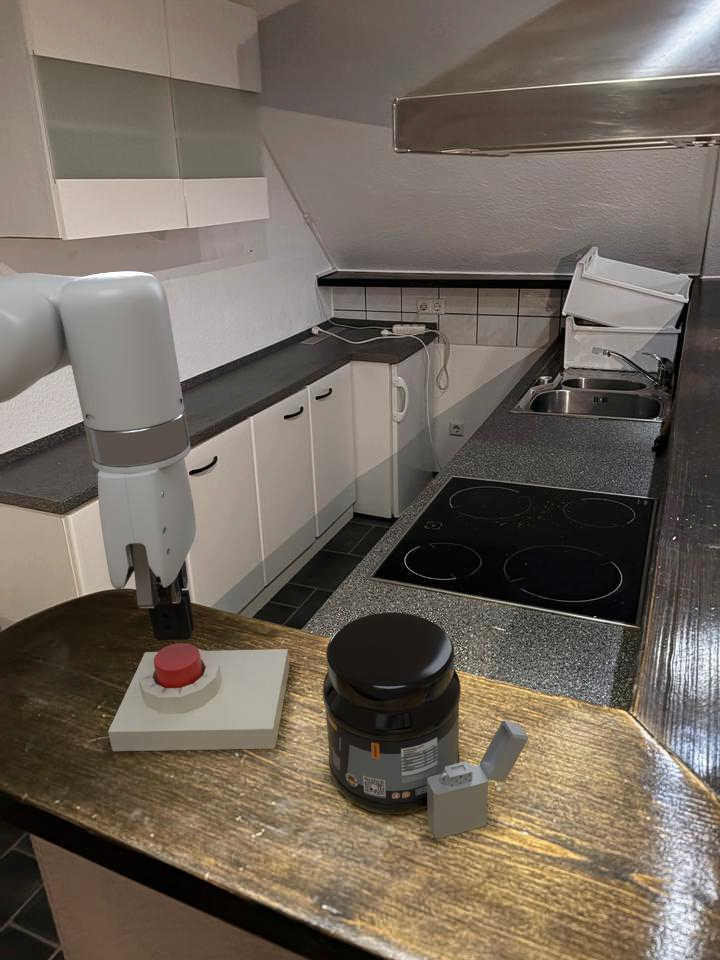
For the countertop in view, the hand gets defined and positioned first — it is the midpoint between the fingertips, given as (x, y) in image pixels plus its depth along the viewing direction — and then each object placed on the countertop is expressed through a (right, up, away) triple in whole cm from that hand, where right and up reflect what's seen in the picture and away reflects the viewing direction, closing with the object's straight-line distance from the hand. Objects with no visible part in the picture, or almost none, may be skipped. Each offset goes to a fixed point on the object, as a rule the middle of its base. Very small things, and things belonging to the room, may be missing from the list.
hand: (175, 634), depth 67 cm
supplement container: (+19, -10, -5) cm, 22 cm away
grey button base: (+2, -7, +3) cm, 8 cm away
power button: (0, -4, +2) cm, 4 cm away
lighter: (+25, -12, -10) cm, 29 cm away
